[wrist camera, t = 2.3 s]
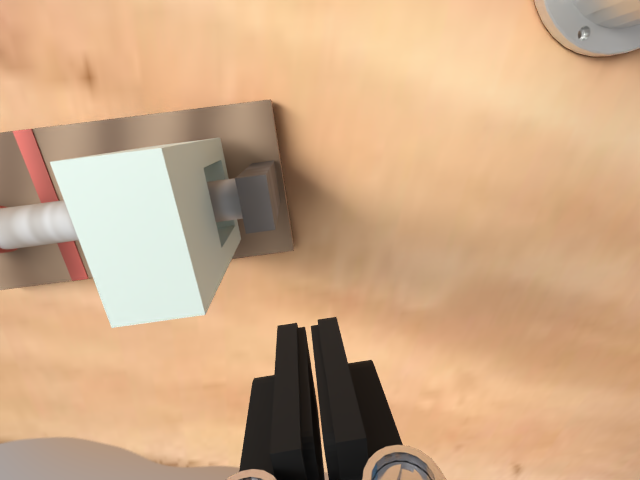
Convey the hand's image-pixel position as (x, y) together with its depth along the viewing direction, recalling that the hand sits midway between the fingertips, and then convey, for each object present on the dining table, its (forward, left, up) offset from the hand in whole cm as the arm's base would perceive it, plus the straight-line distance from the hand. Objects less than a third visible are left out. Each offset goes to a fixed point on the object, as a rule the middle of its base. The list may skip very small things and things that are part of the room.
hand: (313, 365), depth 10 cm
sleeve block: (+7, -3, -15) cm, 17 cm away
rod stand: (+13, -3, -18) cm, 22 cm away
